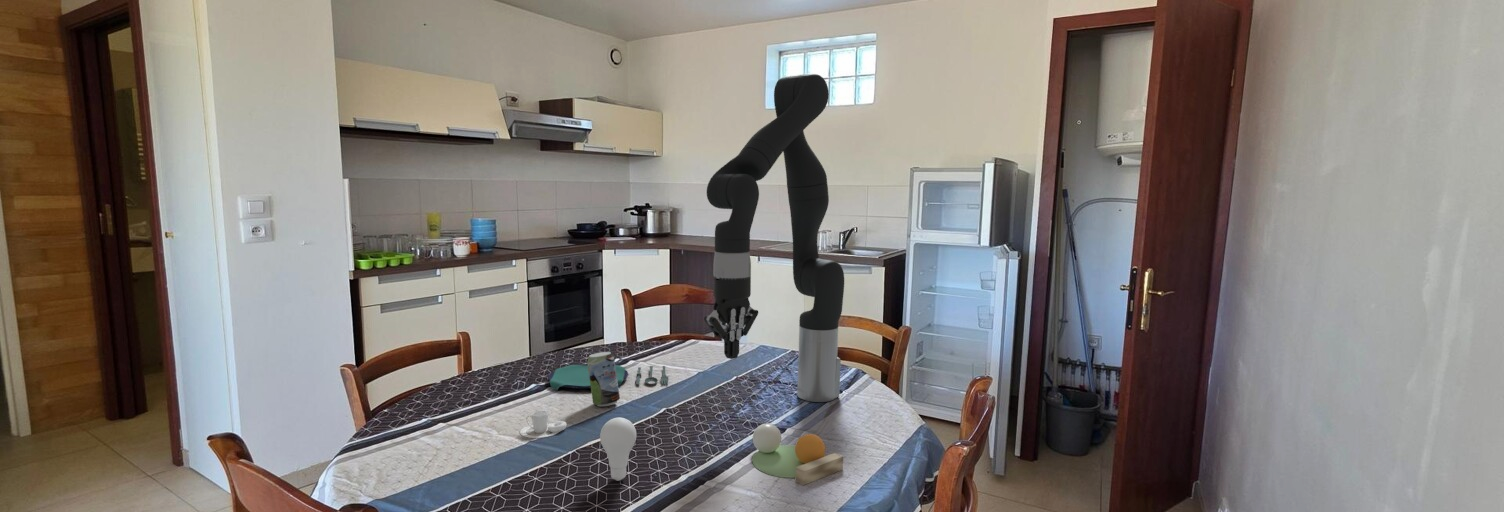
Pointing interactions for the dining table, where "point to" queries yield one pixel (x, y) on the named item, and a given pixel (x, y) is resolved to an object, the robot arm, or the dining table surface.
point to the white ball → (767, 438)
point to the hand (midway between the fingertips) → (731, 357)
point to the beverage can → (603, 379)
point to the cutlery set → (580, 379)
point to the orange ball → (809, 448)
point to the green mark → (778, 462)
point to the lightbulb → (618, 444)
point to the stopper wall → (819, 468)
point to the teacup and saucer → (542, 425)
